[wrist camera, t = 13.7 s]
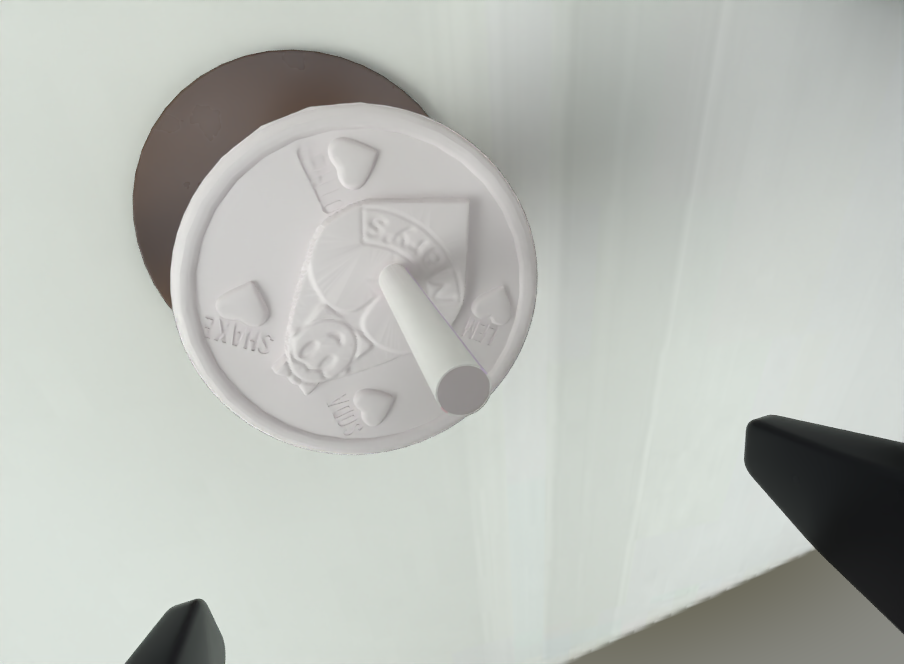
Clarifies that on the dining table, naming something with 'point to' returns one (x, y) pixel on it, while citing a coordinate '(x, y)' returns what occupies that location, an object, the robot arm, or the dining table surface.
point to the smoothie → (353, 278)
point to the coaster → (233, 131)
